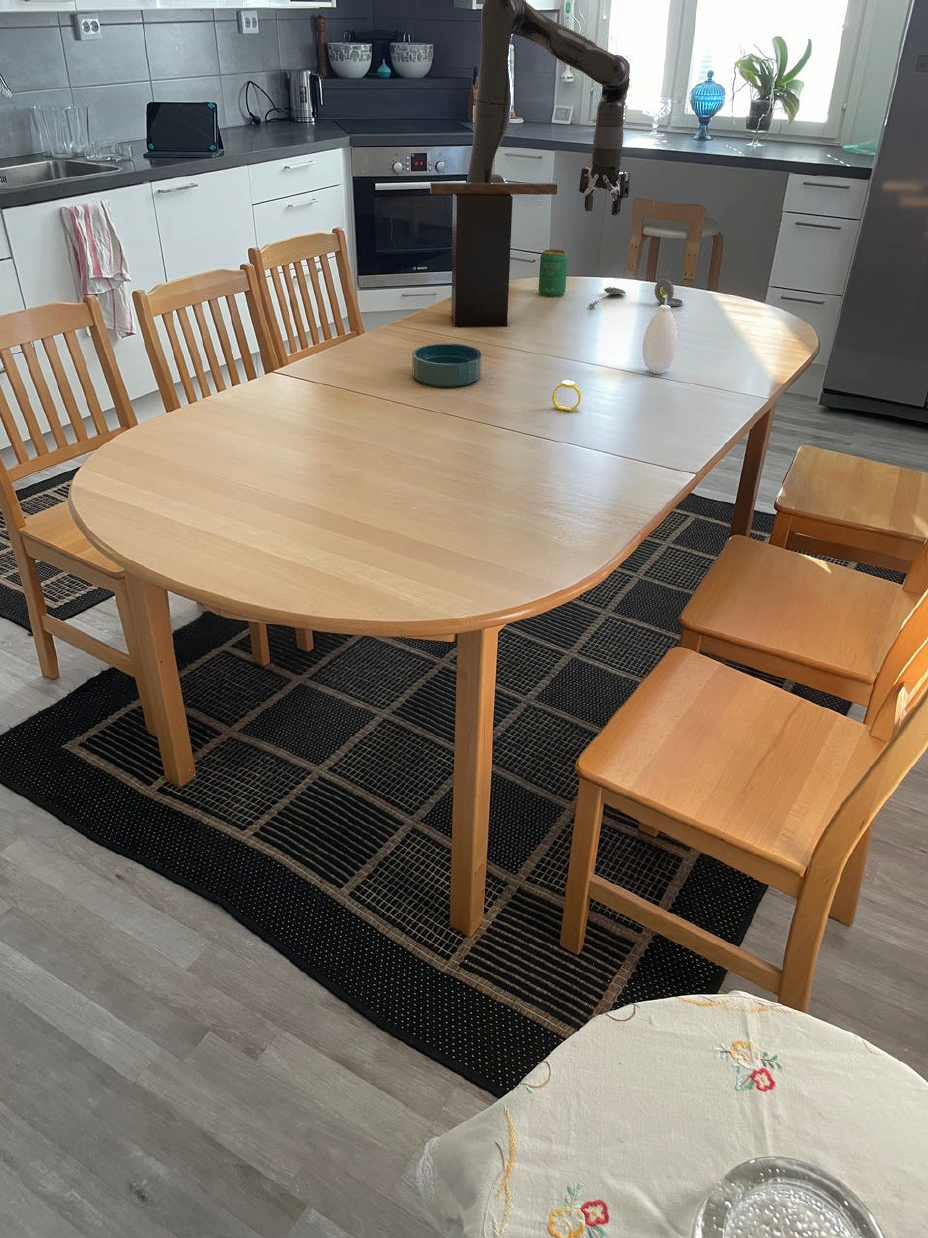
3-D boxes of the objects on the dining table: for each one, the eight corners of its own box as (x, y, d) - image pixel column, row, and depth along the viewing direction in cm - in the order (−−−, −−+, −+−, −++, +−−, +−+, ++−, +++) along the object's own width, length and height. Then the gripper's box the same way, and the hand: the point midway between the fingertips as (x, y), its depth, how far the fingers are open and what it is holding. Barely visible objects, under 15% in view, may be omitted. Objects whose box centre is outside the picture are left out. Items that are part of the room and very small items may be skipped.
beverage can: (568, 292, 283) (571, 250, 277) (559, 298, 277) (562, 255, 271) (543, 289, 286) (546, 247, 279) (534, 295, 280) (536, 252, 273)
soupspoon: (629, 296, 283) (608, 295, 286) (629, 285, 281) (609, 283, 284) (601, 310, 266) (580, 308, 269) (602, 298, 264) (580, 295, 267)
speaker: (501, 316, 260) (506, 190, 242) (507, 326, 251) (512, 196, 234) (451, 316, 258) (452, 190, 241) (455, 327, 250) (456, 196, 233)
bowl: (398, 377, 215) (397, 353, 212) (445, 362, 225) (445, 339, 222) (447, 393, 206) (447, 369, 203) (494, 377, 216) (495, 353, 213)
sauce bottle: (666, 366, 225) (677, 289, 215) (678, 377, 218) (689, 297, 209) (635, 367, 224) (644, 290, 214) (646, 378, 217) (656, 298, 208)
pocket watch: (683, 302, 276) (688, 267, 270) (679, 309, 269) (684, 273, 264) (655, 299, 278) (660, 264, 272) (650, 306, 271) (655, 270, 266)
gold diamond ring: (550, 410, 199) (552, 382, 196) (552, 405, 201) (554, 378, 198) (578, 413, 198) (580, 385, 194) (580, 408, 200) (582, 381, 197)
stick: (555, 192, 240) (555, 182, 239) (556, 194, 238) (557, 184, 237) (430, 192, 237) (430, 182, 236) (431, 194, 235) (431, 183, 234)
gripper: (639, 146, 240) (631, 214, 249) (593, 141, 248) (588, 207, 257) (622, 148, 235) (615, 218, 244) (576, 143, 243) (571, 211, 252)
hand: (601, 212), depth 251 cm, fingers open, 8 cm apart
